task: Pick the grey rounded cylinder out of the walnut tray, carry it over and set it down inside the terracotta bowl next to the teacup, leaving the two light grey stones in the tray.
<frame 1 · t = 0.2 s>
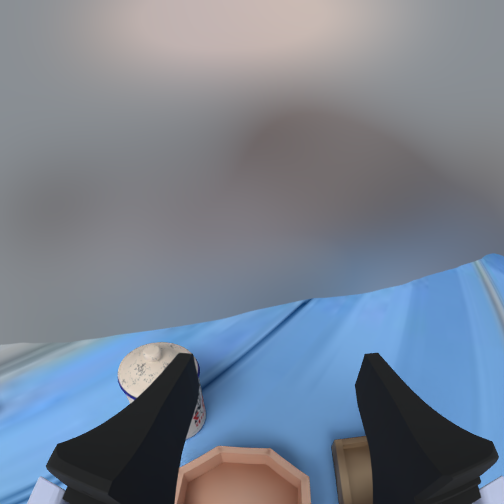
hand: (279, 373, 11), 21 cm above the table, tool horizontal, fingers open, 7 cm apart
teacup with lid: (171, 408, 31), on the table
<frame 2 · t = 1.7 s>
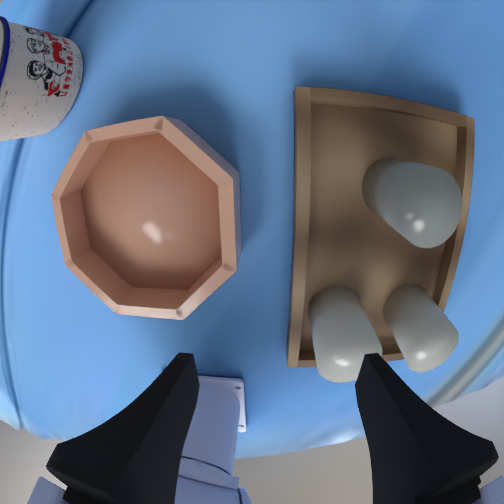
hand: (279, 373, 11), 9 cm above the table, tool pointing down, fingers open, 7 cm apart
teacup with lid: (45, 74, 15), on the table
grey rounded cylinder: (389, 187, 16), point 1 cm above the table, touching tray
tray: (380, 242, 18), on the table
bowl: (150, 214, 19), on the table
light stone a: (334, 309, 20), point 1 cm above the table, touching tray
light stone b: (405, 305, 19), point 1 cm above the table, touching tray
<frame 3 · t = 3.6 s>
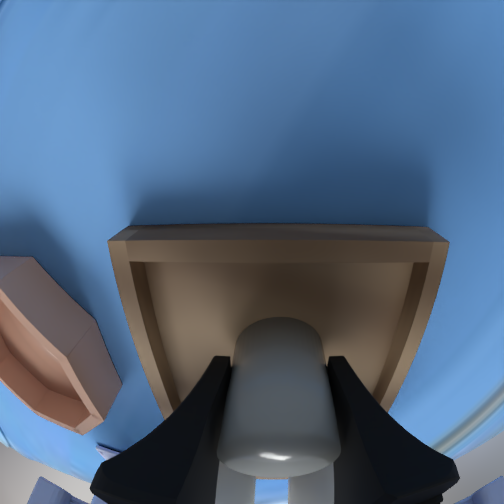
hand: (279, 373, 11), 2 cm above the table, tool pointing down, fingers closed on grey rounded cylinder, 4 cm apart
grey rounded cylinder: (278, 351, 12), point 1 cm above the table, touching gripper, tray
tray: (276, 394, 14), on the table
bowl: (41, 339, 15), on the table
light stone a: (228, 440, 16), point 1 cm above the table, touching tray
light stone b: (317, 441, 15), point 1 cm above the table, touching tray
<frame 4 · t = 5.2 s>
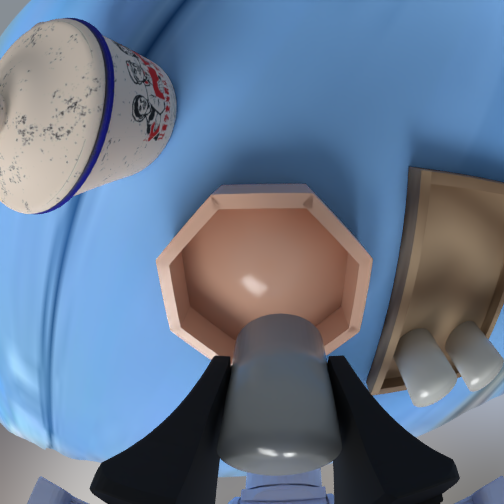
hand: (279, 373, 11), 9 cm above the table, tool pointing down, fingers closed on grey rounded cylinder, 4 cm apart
teacup with lid: (114, 100, 15), on the table
grey rounded cylinder: (279, 348, 12), point 8 cm above the table, touching gripper
tray: (452, 292, 19), on the table
bowl: (265, 275, 19), on the table
light stone a: (412, 346, 21), point 1 cm above the table, touching tray
light stone b: (461, 337, 20), point 1 cm above the table, touching tray
when the fingers open (4 cm above the table, at t = 6.8 s): grey rounded cylinder drops 2 cm, resting on bowl.
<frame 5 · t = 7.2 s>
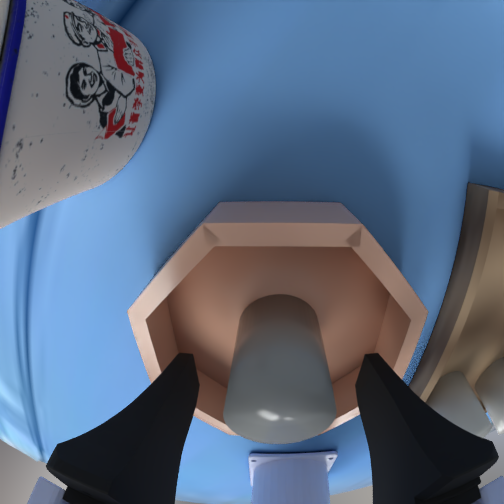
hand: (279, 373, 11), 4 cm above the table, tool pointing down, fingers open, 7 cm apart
teacup with lid: (76, 85, 10), on the table
grey rounded cylinder: (278, 328, 14), point 1 cm above the table, touching bowl
tray: (491, 328, 14), on the table
bowl: (278, 323, 14), on the table
light stone a: (443, 389, 15), point 1 cm above the table, touching tray
light stone b: (492, 374, 15), point 1 cm above the table, touching tray
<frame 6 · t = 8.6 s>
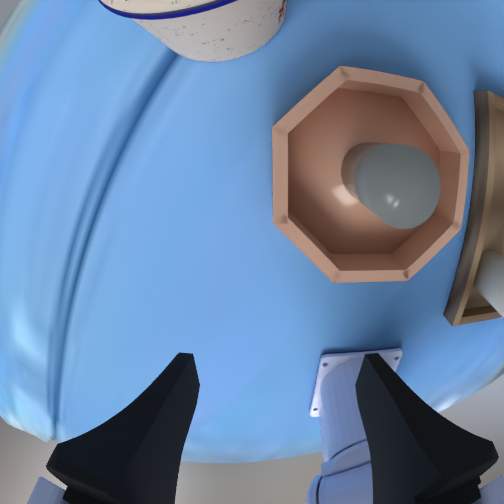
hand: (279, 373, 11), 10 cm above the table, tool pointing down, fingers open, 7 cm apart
grey rounded cylinder: (370, 172, 16), point 1 cm above the table, touching bowl
bowl: (367, 173, 17), on the table
light stone a: (485, 269, 18), point 1 cm above the table, touching tray
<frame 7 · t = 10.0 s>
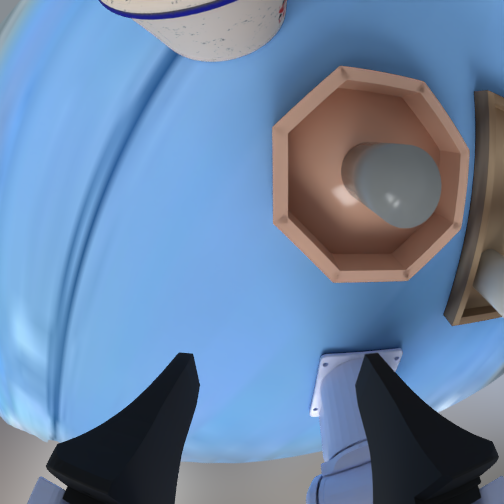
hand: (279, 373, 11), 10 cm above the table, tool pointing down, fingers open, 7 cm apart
grey rounded cylinder: (370, 172, 16), point 1 cm above the table, touching bowl
bowl: (367, 173, 17), on the table
light stone a: (485, 269, 18), point 1 cm above the table, touching tray
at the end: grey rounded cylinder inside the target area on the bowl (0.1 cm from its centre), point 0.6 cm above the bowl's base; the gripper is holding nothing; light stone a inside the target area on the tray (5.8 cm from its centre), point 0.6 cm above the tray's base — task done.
